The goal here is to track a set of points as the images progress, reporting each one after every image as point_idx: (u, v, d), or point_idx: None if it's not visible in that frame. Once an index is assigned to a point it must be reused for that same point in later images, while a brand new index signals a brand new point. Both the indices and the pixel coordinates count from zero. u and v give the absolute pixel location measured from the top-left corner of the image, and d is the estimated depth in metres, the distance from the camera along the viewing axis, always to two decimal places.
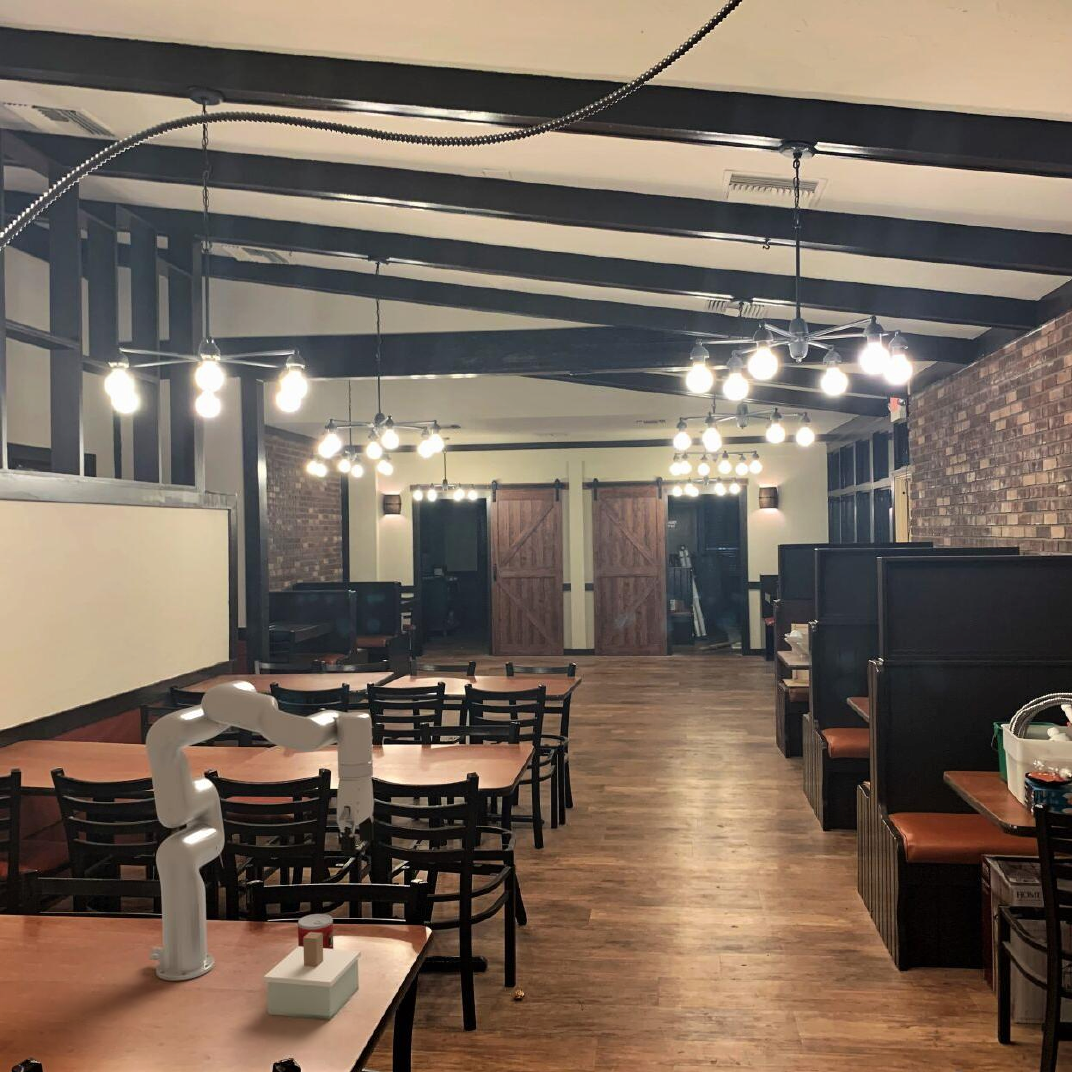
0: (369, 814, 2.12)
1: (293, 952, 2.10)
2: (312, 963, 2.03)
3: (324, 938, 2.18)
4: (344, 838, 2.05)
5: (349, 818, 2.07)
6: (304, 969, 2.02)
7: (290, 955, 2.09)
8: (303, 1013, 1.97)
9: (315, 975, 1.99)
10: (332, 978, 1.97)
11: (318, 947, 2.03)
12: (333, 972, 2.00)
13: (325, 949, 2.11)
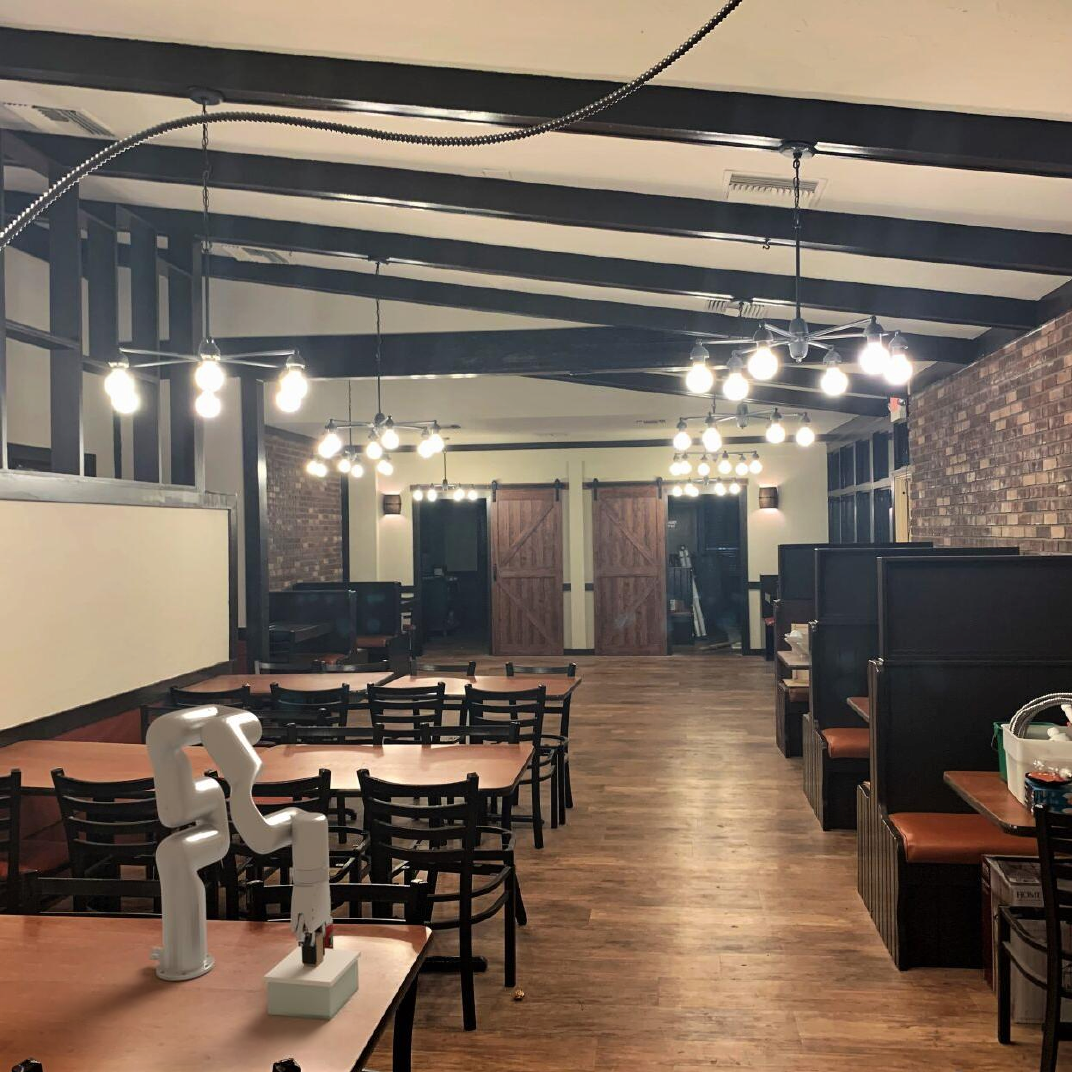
0: (325, 918, 2.06)
1: (293, 952, 2.10)
2: None
3: None
4: (305, 947, 2.02)
5: None
6: (304, 969, 2.02)
7: (290, 955, 2.09)
8: (303, 1013, 1.97)
9: (315, 975, 1.99)
10: (332, 978, 1.97)
11: (318, 947, 2.03)
12: (333, 972, 2.00)
13: (325, 949, 2.11)
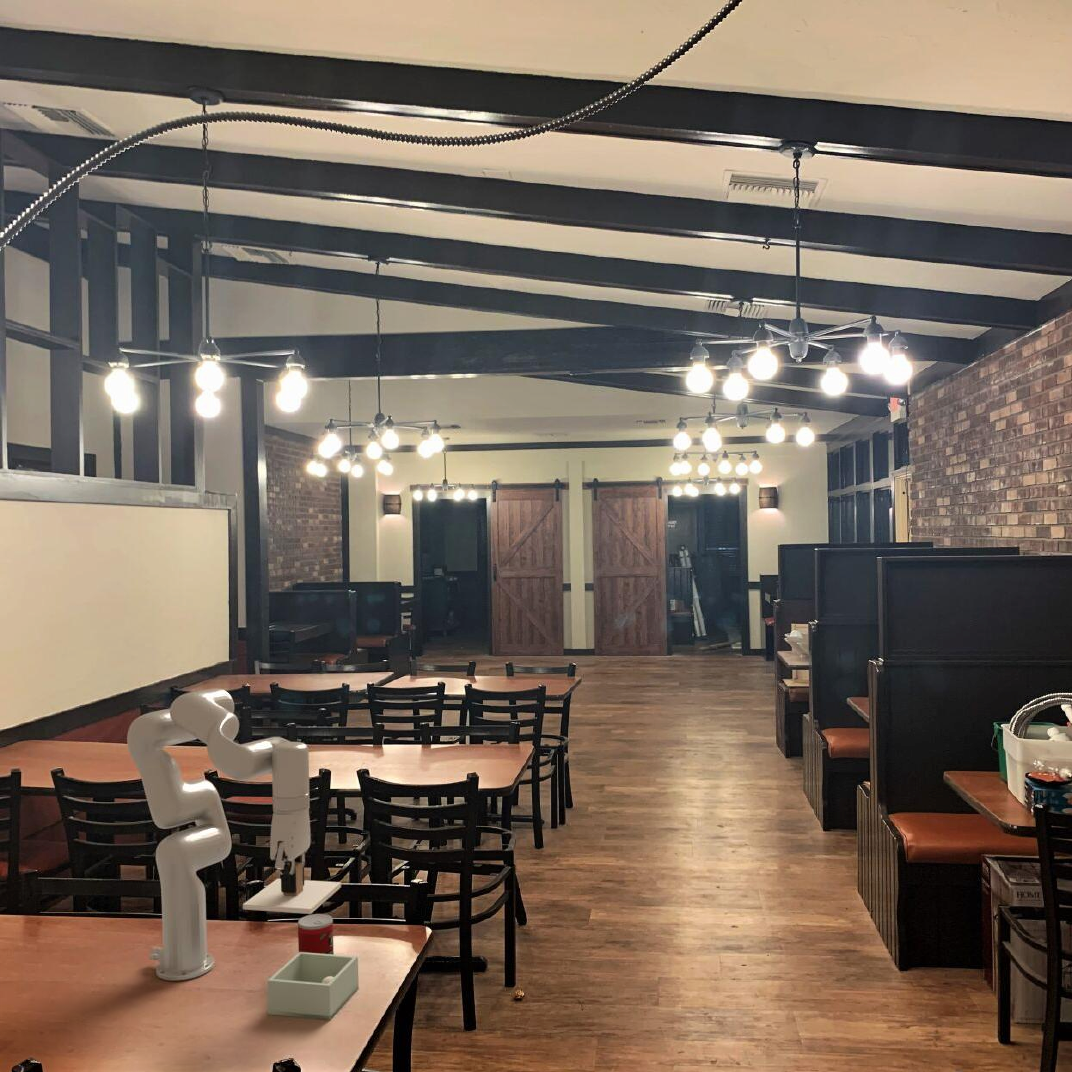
0: (305, 848, 2.04)
1: (272, 883, 2.08)
2: None
3: (324, 938, 2.18)
4: (284, 875, 2.00)
5: None
6: (283, 898, 2.00)
7: (269, 886, 2.07)
8: (303, 1013, 1.97)
9: (295, 902, 1.97)
10: (312, 905, 1.95)
11: (298, 877, 2.01)
12: (313, 900, 1.98)
13: (305, 881, 2.09)
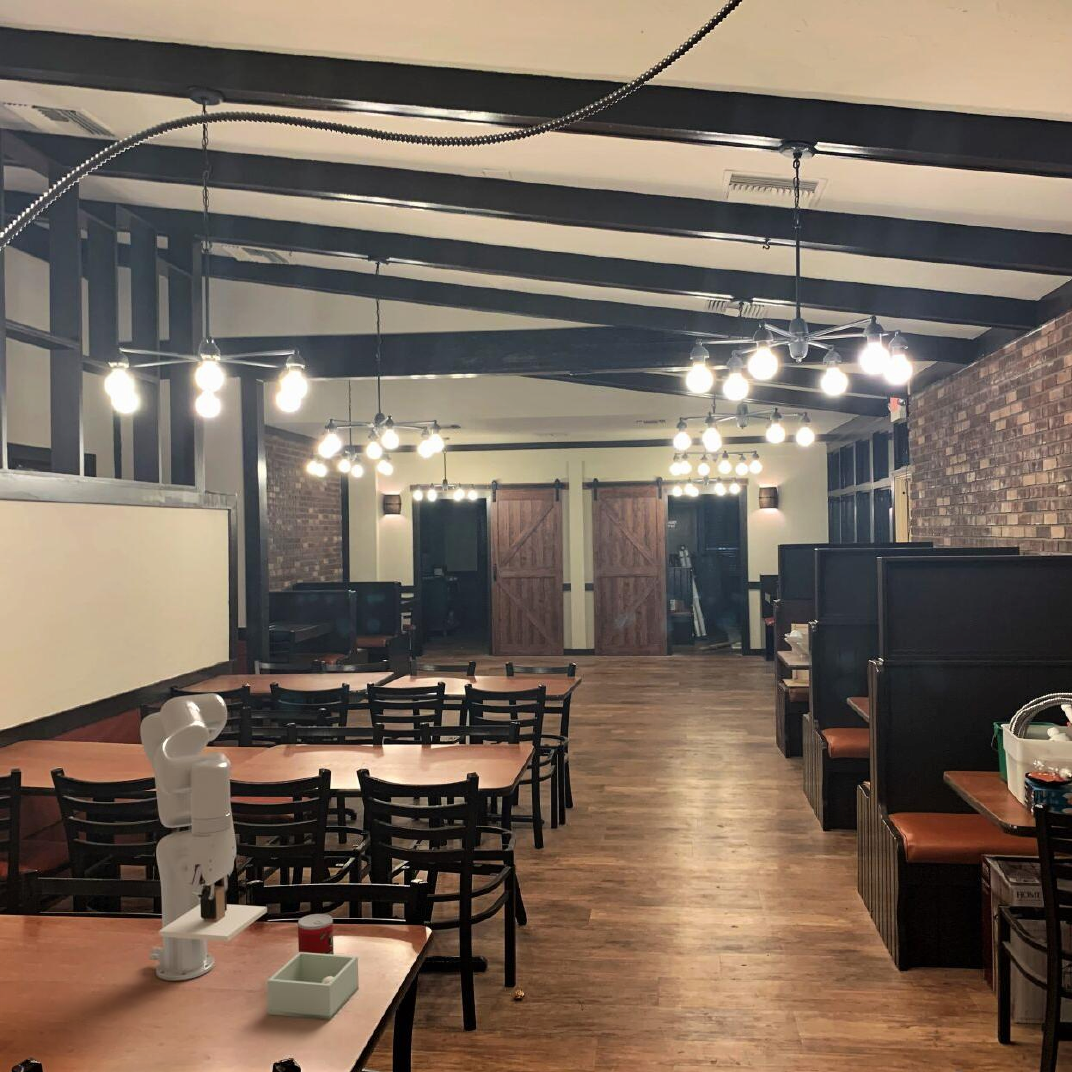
0: (227, 871, 1.95)
1: (195, 908, 1.99)
2: None
3: (324, 938, 2.18)
4: (203, 900, 1.90)
5: None
6: (202, 924, 1.90)
7: (191, 911, 1.97)
8: (303, 1013, 1.97)
9: (213, 929, 1.87)
10: (230, 932, 1.86)
11: (218, 902, 1.92)
12: (232, 927, 1.88)
13: (230, 905, 2.00)
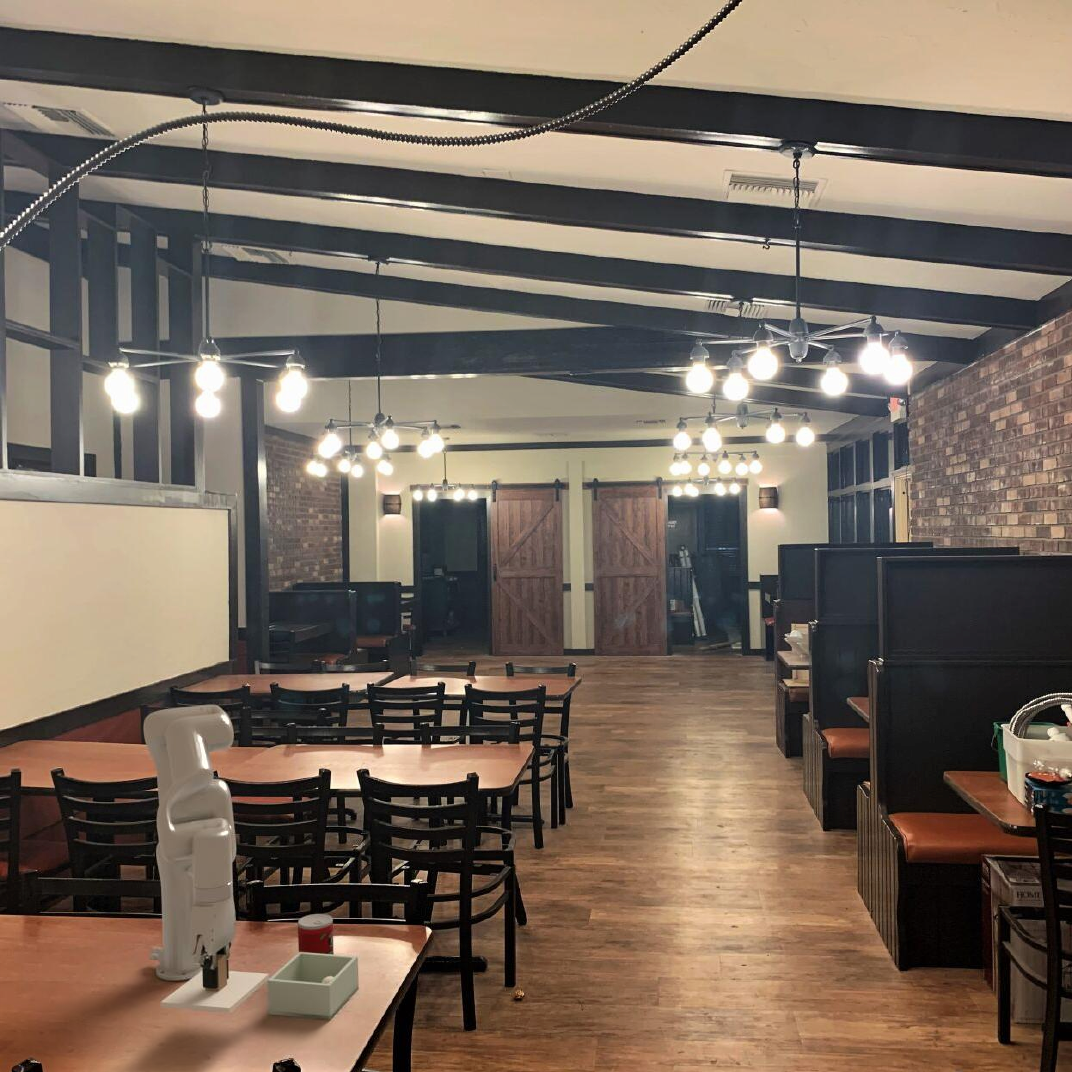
0: (229, 939, 1.94)
1: (197, 975, 1.99)
2: None
3: (324, 938, 2.18)
4: (205, 970, 1.90)
5: None
6: (204, 994, 1.90)
7: (193, 979, 1.97)
8: (303, 1013, 1.97)
9: (215, 1000, 1.87)
10: (232, 1004, 1.85)
11: (220, 971, 1.92)
12: (235, 997, 1.88)
13: (232, 972, 2.00)
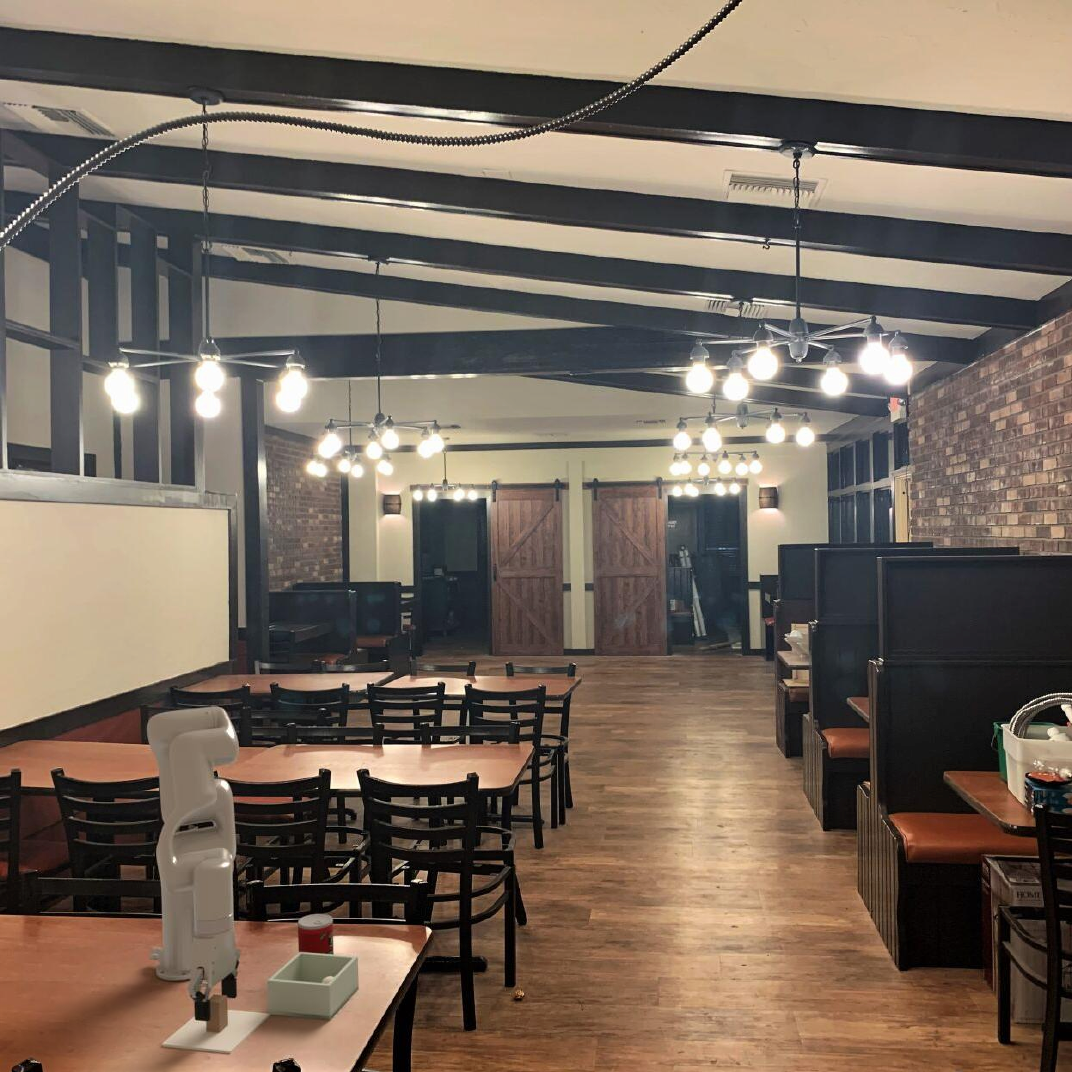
0: (230, 970, 1.95)
1: None
2: (215, 1028, 1.91)
3: (324, 938, 2.18)
4: (197, 1003, 1.87)
5: (204, 978, 1.90)
6: (205, 1035, 1.90)
7: (194, 1018, 1.97)
8: (303, 1013, 1.97)
9: (216, 1042, 1.87)
10: (233, 1046, 1.86)
11: (221, 1012, 1.92)
12: (236, 1039, 1.88)
13: (232, 1011, 2.00)
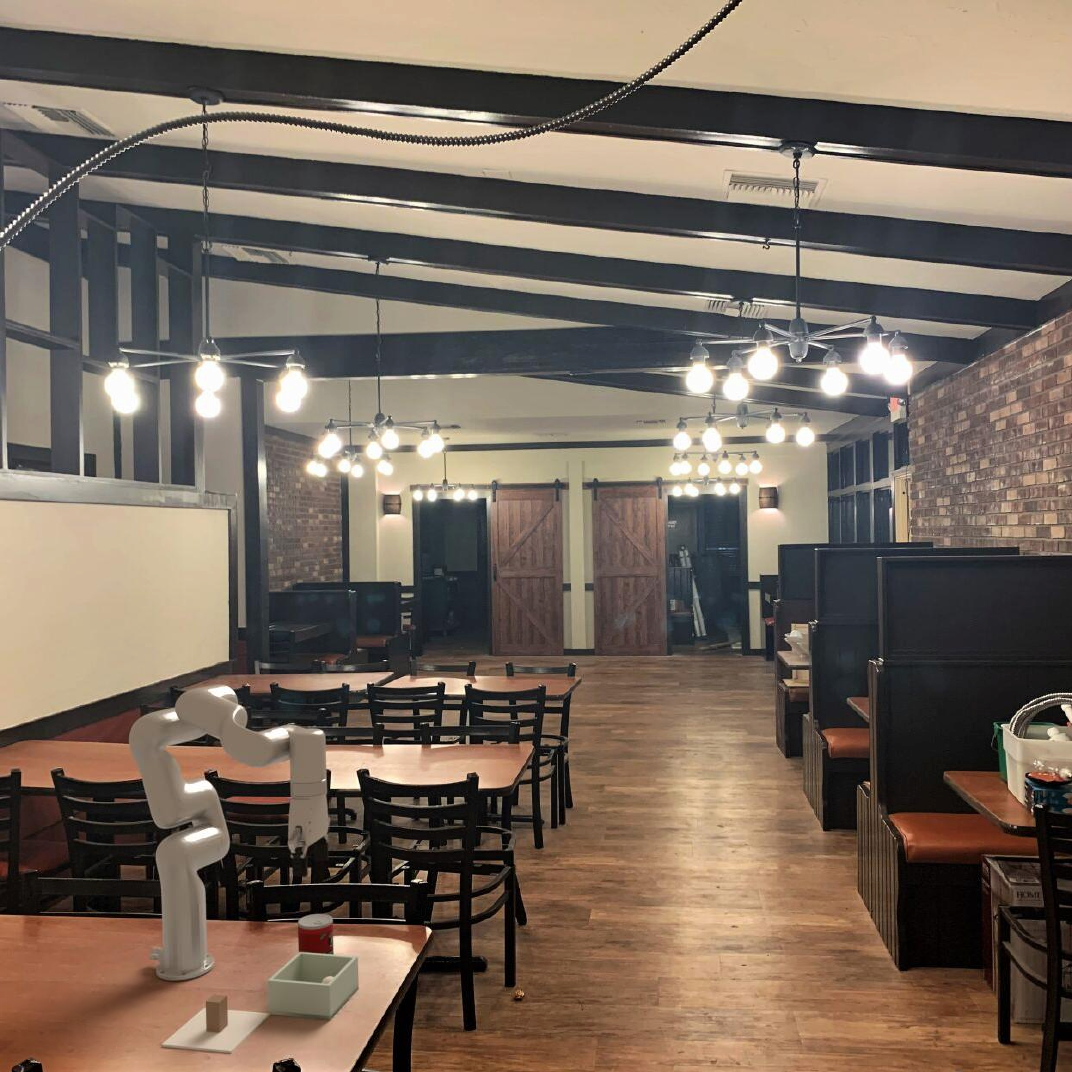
0: (323, 834, 2.06)
1: (197, 1015, 1.99)
2: (215, 1028, 1.91)
3: (324, 938, 2.18)
4: (295, 859, 1.99)
5: (301, 838, 2.01)
6: (206, 1035, 1.90)
7: (194, 1018, 1.97)
8: (303, 1013, 1.97)
9: (217, 1042, 1.88)
10: (234, 1046, 1.86)
11: (221, 1012, 1.92)
12: (236, 1039, 1.88)
13: (232, 1011, 2.00)
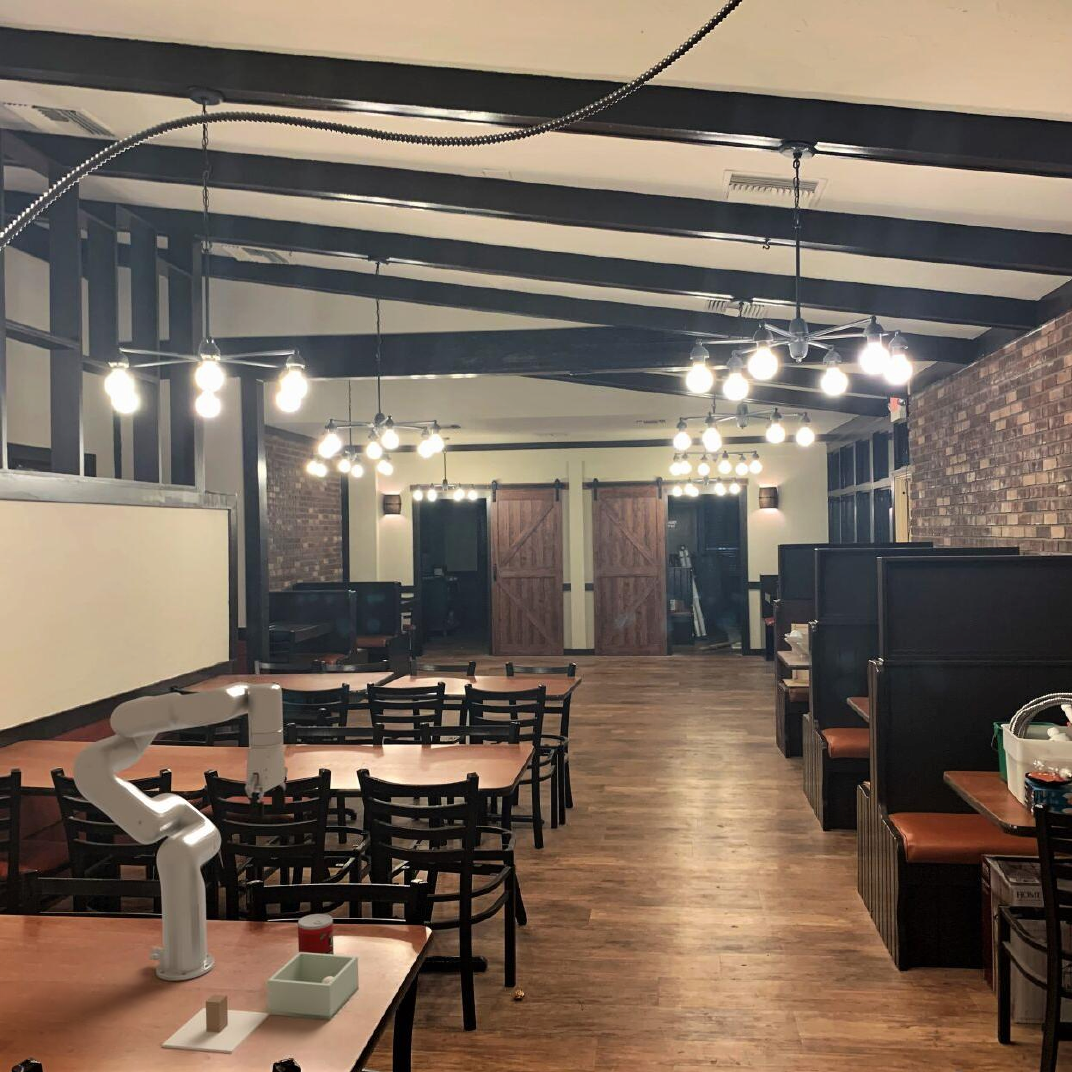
0: (280, 781, 2.20)
1: (197, 1015, 1.99)
2: (215, 1028, 1.91)
3: (324, 938, 2.18)
4: (252, 803, 2.13)
5: (258, 784, 2.16)
6: (206, 1035, 1.90)
7: (193, 1018, 1.97)
8: (303, 1013, 1.97)
9: (217, 1042, 1.88)
10: (234, 1046, 1.86)
11: (221, 1012, 1.92)
12: (236, 1039, 1.89)
13: (232, 1011, 2.00)
